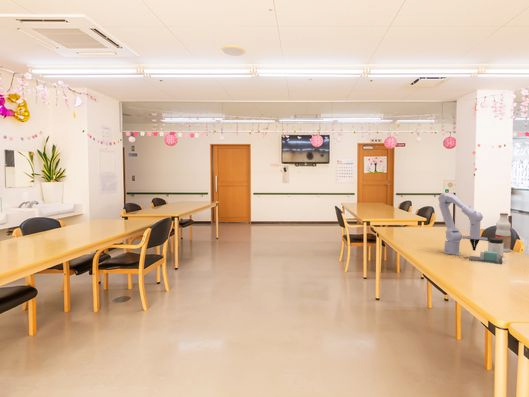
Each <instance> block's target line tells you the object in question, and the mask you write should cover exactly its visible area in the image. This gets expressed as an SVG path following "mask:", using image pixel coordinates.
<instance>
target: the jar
mask: <svg viewBox="0 0 529 397" xmlns="http://www.w3.org/2000/svg"><path fill="white" fill-rule="evenodd" d="M503 246H504V243H503V239H500V238H495V237H489V239H488V241H487V251H490V252H497V254H501V256H502V258H503V257H504V252H503Z"/></svg>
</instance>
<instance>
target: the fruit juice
mask: <svg viewBox="0 0 529 397" xmlns="http://www.w3.org/2000/svg"><path fill="white" fill-rule="evenodd" d="M508 216H509V214H508V213H507V212H500V213H499V220H498V221H497V222H496V224H495V227H496V230H495V236H494V238H500V239H503V243H504V246H503V253H510V251H511V242H512V241H511V240H512V237H511V236H512V233H511V232H512V231H511V227H512V224H511V222H510V221H509V218H508Z"/></svg>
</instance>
